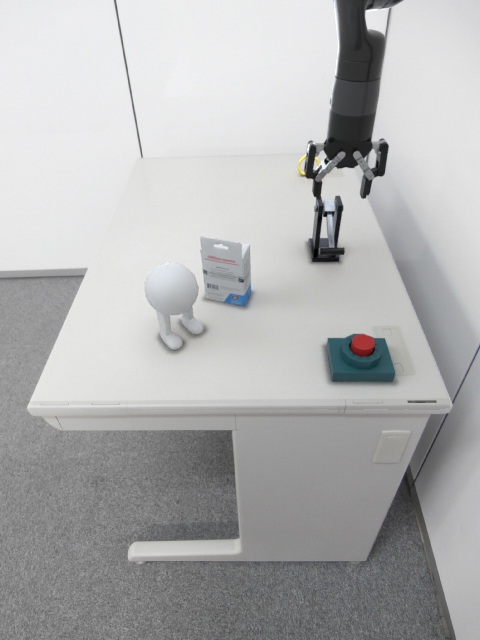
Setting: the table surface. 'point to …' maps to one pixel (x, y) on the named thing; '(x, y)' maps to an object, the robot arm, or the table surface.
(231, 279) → the ink box
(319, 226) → the bracket
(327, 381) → the table surface
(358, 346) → the stop button
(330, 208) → the lever
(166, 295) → the toy character
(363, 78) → the robot arm
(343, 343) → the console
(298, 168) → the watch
